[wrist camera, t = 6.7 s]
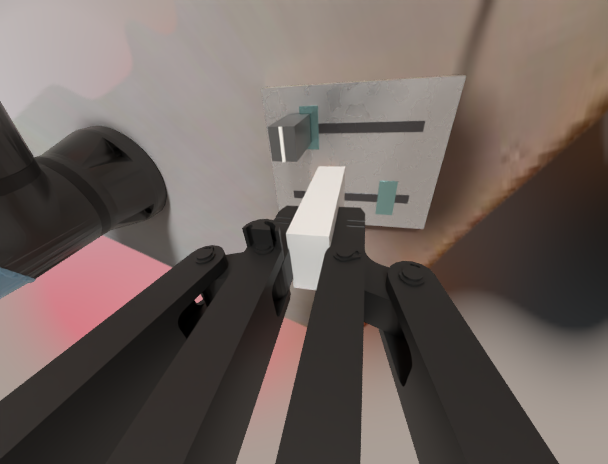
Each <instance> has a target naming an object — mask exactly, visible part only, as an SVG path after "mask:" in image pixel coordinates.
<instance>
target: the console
mask: <svg viewBox="0 0 608 464" xmlns="http://www.w3.org/2000/svg"><path fill="white" fill-rule="evenodd" d="M465 79H466V75H446V76H431V77H415V78H399V79H384V80H368V81H352V82H337V83H321V84H306V85H290V86H274V87H265V88H261V93H262V100H263V107H264V114H265V121H266V127H267V134H268V126H270V125H271V124H273V123H275V122H276V121H278V120H280V119H281V118H283V117H285V116H286V115H295V114H309V115H310V136H311V144H310V146H309V147H308V148H307V150H306V151H305V152H304V153H303V155H302V156H301V157H300V159H299V160H298V161H297V162H279V161H272V155H271V148H270V141H269V134H268V141H269V148H270V155H271V161H272V168H273V175H274V182H275V189H276V196H277V202H278V209H279V211H280V210H281V209H283V208H284V207H285V206H287V205H288V206H299V205H300V203H301V201H302V199H303V197H304V195H305V193H306V191H307V189H308V187H309V185H310V183H311V181H312V179H313V177H314V175H315V172H316V170H317V168H318V166H345V196H344V207H358V208H361V209H362V210H363V211H364V213H365V225H373V226H387V227H401V228H415V229H424V226H425V222H426V219H427V215H428V212H429V208H430V204H431V201H432V197H433V194H434V190H435V186H436V183H437V179H438V176H439V172H440V168H441V165H442V161H443V158H444V154H445V150H446V147H447V143H448V140H449V136H450V132H451V129H452V125H453V122H454V118H455V115H456V111H457V107H458V104H459V100H460V97H461V93H462V89H463V86H464V82H465Z"/></svg>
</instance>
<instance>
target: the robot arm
mask: <svg viewBox="0 0 608 464" xmlns="http://www.w3.org/2000/svg"><path fill="white" fill-rule="evenodd" d="M344 196H345V166H318V168H317V170H316V172H315V175H314V177H313V179H312V181H311V183H310V185H309V187H308V189H307V191H306V193H305V195H304V197H303V199H302V201H301V203H300V205H299V206H288V205H287V206H285V207H284V208H283V209H281V210H280V211H279V212H278V214H277V216H276V218H275V219H274V221H273V220H269V219H260V220H256V221H252V222H250V223H248V224H246V225H245V226H244V227H243V228H242V229H243V233H244V236H245V240H246V244H247V248H246V250H245V251H244V252H242V253H236V254H229V255H225V253H224V250H223V248H221V247H219V246H214V245H211V246H205V247H202V248H200V249H197V250H196V251H194V252H193V253H191V254H190V255H189V256H187V257H186V258H185V259H183V260H182V261H181V262H180V263H178V264H177V265H176V266H174V267H173V268H172V269H171V270H169V271H168V272H167V273H165V274H164V275H163V276H161V277H160V278H159V279H158V280H156V281H155V282H154V283H152V284H151V285H150V286H149V287H147V288H146V289H145V290H143V291H142V292H141V293H139V294H138V295H137V296H136V297H134V298H133V299H132V300H130V301H129V302H128V303H126V304H125V305H124V306H123V307H121V308H120V309H119V310H117V311H116V312H115V313H114V314H112V315H111V316H110V317H108V318H107V319H106V320H104V321H103V322H102V323H101V324H99V325H98V326H97V327H95V328H94V329H93V330H92V331H90V332H89V333H88V334H86V335H85V336H84V337H82V338H81V339H80V340H79V341H77V342H76V343H75V344H73V345H72V346H71V347H69V348H68V349H67V350H66V351H64V352H63V353H62V354H60V355H59V356H58V357H57V358H55V359H54V360H53V361H51V362H50V363H49V364H48V365H46V366H45V367H44V368H42V369H41V370H40V371H38V372H37V373H36V374H35V375H33V376H32V377H31V378H29V379H28V380H27V381H25V382H24V383H23V384H22V385H20V386H19V387H18V388H16V389H15V390H14V391H13V392H11V393H10V394H9V395H7V396H6V397H5V398H4V399H2V400H1V401H0V464H236V461H237V458H238V455H239V452H240V449H241V446H242V443H243V440H244V437H245V434H246V431H247V428H248V425H249V422H250V419H251V415H252V413H253V409H254V406H255V403H256V400H257V397H258V394H259V391H260V388H261V385H262V382H263V379H264V376H265V373H266V370H267V367H268V364H269V361H270V358H271V355H272V352H273V349H274V346H275V343H276V340H277V337H278V334H279V331H280V328H281V325H282V322H283V319H284V316H285V313H286V310H287V307H288V304H289V301H290V295H291V293H290V285H291V282H292V279H293V284H294V288H302V289H310V290H316V293H315V297H314V302H313V306H312V310H311V314H310V319H309V323H308V327H307V332H306V336H305V340H304V344H303V348H302V353H301V357H300V361H299V366H298V370H297V374H296V378H295V382H294V387H293V391H292V395H291V400H290V404H289V408H288V412H287V416H286V421H285V425H284V429H283V433H282V438H281V442H280V446H279V450H278V455H277V459H276V463H275V464H360V452H361V410H362V409H361V408H362V368H363V367H362V365H363V326H364V322H366V323H368V324H370V325H372V326H374V327H377V328H379V332H380V335H381V338H382V342H383V345H384V349H385V352H386V355H387V359H388V362H389V365H390V368H391V371H392V375H393V378H394V382H395V385H396V388H397V392H398V395H399V398H400V401H401V405H402V408H403V411H404V414H405V418H406V421H407V424H408V428H409V431H410V434H411V437H412V441H413V444H414V447H415V450H416V454H417V458H418V461H419V464H559V463H558V461H557V460H556V458H555V457H554V455H553V454H552V452H551V451H550V449H549V448H548V446H547V445H546V443H545V442H544V440H543V439H542V437H541V436H540V434H539V432H538V431H537V430H536V428H535V426H534V425H533V423H532V422H531V420H530V419H529V417H528V416H527V414H526V413H525V411H524V410H523V408H522V407H521V405H520V404H519V402H518V401H517V399H516V397H515V396H514V394H513V393H512V391H511V390H510V388H509V387H508V385H507V384H506V382H505V381H504V379H503V378H502V376H501V375H500V373H499V372H498V370H497V369H496V367H495V365H494V364H493V362H492V361H491V360H490V358H489V357H488V355H487V353H486V352H485V350H484V349H483V347H482V346H481V344H480V343H479V341H478V340H477V338H476V337H475V335H474V334H473V332H472V330H471V329H470V327H469V326H468V325H467V323H466V321H465V320H464V318H463V317H462V315H461V314H460V312H459V311H458V309H457V308H456V306H455V305H454V303H453V302H452V300H451V299H450V297H449V295H448V294H447V292H446V291H445V289H444V288H443V286H442V285H441V283H440V282H439V280H438V279H437V277H436V276H435V274H434V273H433V272H432V271H431V270H430V269H429V268H427V267H425V266H423V265H422V264H419V263H415V262H411V261H401V262H397V263H395V264H393V265H392V266H390V268H389V267H386V266H383V265H380V264H378V263H376V262H374V261H372V260H371V259H370V258H369V257H368V256H367V255H366V253H365V213H364V211H363V210H362V209H361V208H358V207H344ZM165 202H166V189H165V185H164V182H163V179H162V177H161V175H160V173H159V171H158V169H157V167H156V166H155V164H154V163H153V161H152V160H151V159H150V157H149V156H148V155H147V154H146V153H145V152H144V151H143V150H142V149H141V148H140V147H139V146H138V145H137V144H136V143H135V142H133V141H132V140H131V139H129V138H128V137H127V136H125V135H123V134H122V133H120V132H118V131H116V130H113V129H111V128H107V127H103V126H93V127H88V128H84V129H80V130H77V131H74V132H72V133H71V134H69V135H68V136H67V137H65V138H64V139H63V140H61V141H60V142H59V143H57V144H56V145H54V146H53V147H52V148H50V149H49V150H48V151H46V152H45V153H43V154H42V155H40V156H37V157H33V155H32V153H31V151H30V150H29V148H28V146H27V145H26V143H25V141H24V140H23V138H22V137H21V135H20V133H19V132H18V130H17V128H16V127H15V125H14V123H13V122H12V120H11V118H10V117H9V115H8V113H7V112H6V110H5V108H4V107H3V105H2V103H1V102H0V299H1V298H2V297H4V296H6V295H8V294H9V293H11V292H13V291H15V290H16V289H18V288H20V287H22V286H24V285H25V284H27V283H31V282H34V281H35V279H36V278H37V277H39V276H40V275H42V274H44V273H45V272H46V271H48V270H49V269H51V268H53V267H54V266H56V265H57V264H59V263H60V262H62V261H63V260H65V259H66V258H68V257H70V256H71V255H73V254H74V253H76V252H77V251H79V250H80V249H82V248H83V247H85V246H86V245H88V244H89V243H91V242H93V241H94V240H96V239H97V238H99V237H100V236H102V235H103V234H105V233H107V232H108V231H110V230H112V229H116V228H119V227H123V226H127V225H130V224H134V223H138V222H141V221H145V220H147V219H149V218H151V217H153V216H154V215H155V214H157V213H158V212H160V211H161V210H162V209H163V207H164V205H165ZM200 294H201V296H202V297H203V300H202V301H200V302H199V303H196V302H195V301H194V300H195V299H196V298H197V297H198V296H199V295H200Z"/></svg>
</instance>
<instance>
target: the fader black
mask: <svg viewBox="0 0 608 464" xmlns="http://www.w3.org/2000/svg"><path fill="white" fill-rule="evenodd" d="M268 134H269V141H270V148H271V155H272V161H279V162H297V161H298V160H299V159H300V157H301V156H302V155H303V153H304V152H305V151H306V150H307V148H308V147H309V146H310V144H311V136H310V115H309V114H295V115H286V116H285V117H283V118H281V119H280V120H278V121H276V122H275V123H273V124H271V125H270V126H268Z"/></svg>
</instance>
